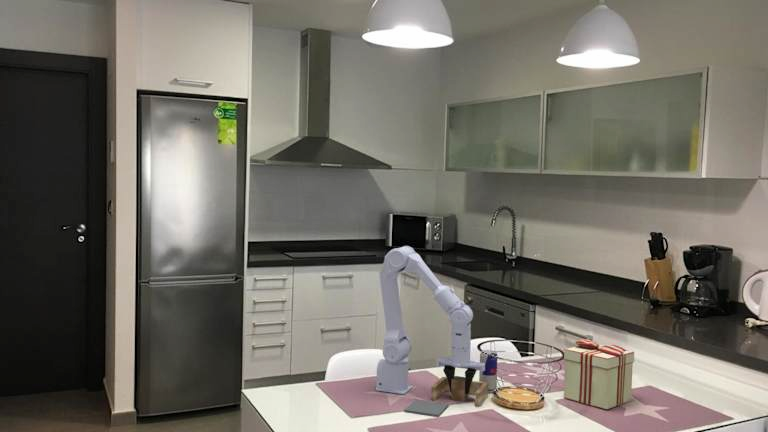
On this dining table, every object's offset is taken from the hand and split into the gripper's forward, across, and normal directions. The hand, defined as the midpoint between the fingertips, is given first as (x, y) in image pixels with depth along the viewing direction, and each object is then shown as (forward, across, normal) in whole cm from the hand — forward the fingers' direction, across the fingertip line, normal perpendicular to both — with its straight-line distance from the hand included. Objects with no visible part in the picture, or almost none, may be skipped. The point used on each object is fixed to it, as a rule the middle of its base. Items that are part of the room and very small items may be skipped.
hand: (459, 392), depth 201 cm
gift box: (+2, +38, +18) cm, 42 cm away
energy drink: (+2, +6, +11) cm, 13 cm away
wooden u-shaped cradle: (+2, 0, 0) cm, 2 cm away
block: (+2, 0, 0) cm, 2 cm away
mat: (+2, -6, -13) cm, 14 cm away
